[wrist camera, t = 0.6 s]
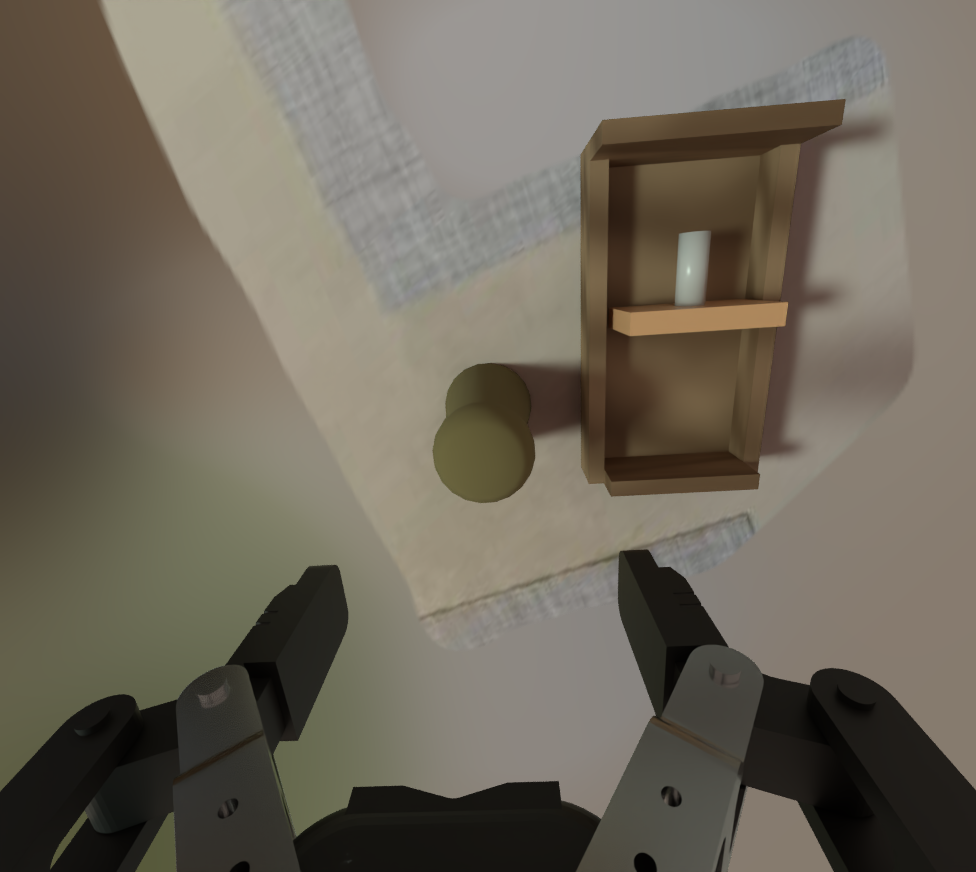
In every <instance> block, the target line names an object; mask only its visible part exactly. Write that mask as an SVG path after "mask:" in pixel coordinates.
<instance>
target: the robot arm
mask: <svg viewBox="0 0 976 872" xmlns="http://www.w3.org/2000/svg"><path fill="white" fill-rule="evenodd" d="M618 604H619V611H620V616H621V620H622V623H623V625H624V628H625V631H626V634H627V637H628V639H629V642H630V645H631V648H632V650H633V653H634V656H635V659H636V661H637V664H638V667H639V670H640V672H641V675H642V678H643V681H644V683H645V686H646V689H647V692H648V694H649V697H650V700H651V703H652V705H653V708H654V711H655V714H656V716H653V717H652V718H651V719H650V721H649V722H648V724H647V727H646V728H645V730H644V733H643V734H642V737H641V739H640V741H639V743H638V745H637V747H636V749H635V751H634V753H633V755H632V757H631V759H630V762H629V763H628V765H627V767H626V770H625V772H624V774H623V776H622V778H621V780H620V782H619V784H618V786H617V789H616V790H615V792H614V794H613V796H612V798H611V800H610V803H609V805H608V807H607V809H606V811H605V813H604V815H603V817H602V819H600V818H599V817H598V816H596V815H594V814H592V813H591V812H589V811H587V810H585V809H584V808H581V807H579V806H577V805H574V804H572V803H568V802H565V801H561V797H560V788H559V782H558V781H549V782H514V783H505V784H502V785H498V786H495V787H492V788H489V789H486V790H482V791H479V792H476V793H473V794H469V795H466V796H463V797H460V798H453V799H452V798H446V797H443V796H439V795H435V794H432V793H428V792H424V791H421V790H417V789H413V788H410V787H406V786H375V787H353V790H352V793H351V797H350V800H349V804H348V807H347V808H344V809H341V810H339V811H336V812H334V813H332V814H330V815H328V816H326V817H324V818H323V819H321V820H319V821H317V822H316V823H314V824H313V825H311V826H310V827H309V828H307V829H306V830H304V831H303V832H302V833H301V834H300V835H299V836H296V833H295V829H294V826H293V822H292V819H291V816H290V812H289V808H288V805H287V801H286V798H285V794H284V790H283V787H282V783H281V779H280V776H279V772H278V769H277V765H276V762H275V759H274V755H273V753H274V751H275V749H276V747H277V745H278V743H279V741H298V739H299V737H300V735H301V732H302V730H303V728H304V726H305V723H306V721H307V719H308V717H309V714H310V712H311V710H312V707H313V705H314V703H315V701H316V698H317V696H318V694H319V692H320V689H321V687H322V685H323V683H324V680H325V678H326V676H327V673H328V671H329V669H330V667H331V664H332V662H333V660H334V658H335V655H336V653H337V651H338V648H339V646H340V644H341V642H342V639H343V637H344V635H345V632H346V629H347V624H348V608H347V603H346V598H345V594H344V589H343V584H342V579H341V575H340V570H339V568H338V566H337V565H322V566H309V567H308V568H307V569H306V571H305V572H304V574H303V575H302V576H301V578H300V580H299V581H298V582H297V584H296V585H289V586H288V587H287V588H285V589H284V590H283V591H282V592H280V593H279V594H278V595H277V596H275V597H274V598H273V600H272V601H271V602H270V604H269V605H268V606H267V608H266V609H265V611H264V614H262V615H261V616H260V618H259V619H258V621H257V622H256V626H253V627H252V629H251V630H250V632H249V633H248V634H247V636H246V637H245V639H244V640H243V641H242V643H241V644H240V646H239V647H238V648H237V650H236V651H235V652H234V654H233V655H232V657H231V658H230V659H229V661H228V663H227V664H226V665H225V666H221V667H217V668H214V669H212V670H210V671H208V672H206V673H204V674H202V675H201V676H199V677H197V678H196V679H195V680H193V681H192V682H191V683H190V684H189V685H188V686H187V687H186V688H185V689H184V690H183V691H182V693H181V694H180V696H179V698H178V699H177V700H174V701H171V702H167V703H164V704H160V705H157V706H154V707H150V708H147V709H143V710H139V708H138V706H137V703H136V701H135V699H134V698H133V697H132V696H129V695H125V694H122V695H114V696H110V697H106V698H104V699H101V700H98V701H96V702H94V703H92V704H90V705H88V706H86V707H85V708H83V709H82V710H80V711H79V712H77V713H76V714H74V715H73V716H72V717H71V718H69V719H68V720H67V721H66V722H65V723H64V724H63V725H62V726H61V727H60V728H59V729H58V730H57V731H56V732H55V733H54V734H53V735H52V736H51V738H50V739H49V740H48V741H47V742H46V743H45V744H44V745H43V746H42V747H41V748H40V749H39V750H38V752H37V753H36V754H35V755H34V756H33V757H32V758H31V759H30V760H29V761H28V762H27V763H26V764H25V766H24V767H23V768H22V769H21V770H20V771H19V772H18V773H17V774H16V775H15V776H14V777H13V779H12V780H11V781H10V782H9V783H8V784H7V785H6V786H5V787H4V788H3V789H2V790H1V792H0V872H135V871H136V869H137V867H138V866H139V864H140V862H141V860H142V859H143V857H144V855H145V854H146V852H147V850H148V848H149V847H150V845H151V843H152V841H153V839H154V838H155V836H156V834H157V833H158V831H159V829H160V827H161V826H162V824H163V822H164V820H165V818H166V817H167V815H168V813H171V812H174V828H175V848H176V869H177V872H728V867H729V863H730V859H731V854H732V850H733V846H734V842H735V837H736V834H737V830H738V825H739V821H740V817H741V813H742V809H743V804H744V800H745V796H746V792H747V788H748V787H752V788H755V789H759V790H762V791H765V792H769V793H772V794H776V795H780V796H782V797H786V798H790V799H793V800H796V801H798V803H799V805H800V807H801V809H802V811H803V813H804V815H805V817H806V818H807V821H808V823H809V824H810V826H811V828H812V830H813V832H814V834H815V836H816V838H817V840H818V842H819V844H820V846H821V848H822V850H823V852H824V853H825V855H826V857H827V859H828V861H829V863H830V865H831V867H832V869H833V871H834V872H976V790H975V789H974V788H973V787H972V785H971V784H970V783H969V782H968V781H967V780H966V779H965V778H964V776H963V775H962V774H961V773H960V772H959V771H958V770H957V768H956V767H955V766H954V765H953V764H952V763H951V761H950V760H949V759H948V758H947V757H946V756H945V755H944V754H943V752H942V751H941V750H940V749H939V748H938V747H937V746H936V744H935V743H934V742H933V741H932V740H931V739H930V738H929V736H928V735H927V734H926V733H925V732H924V731H923V730H922V728H921V727H920V726H919V725H918V724H917V723H916V722H915V721H914V720H913V718H912V717H911V716H910V715H909V714H908V713H907V711H906V710H905V709H904V708H903V707H902V706H901V705H900V703H899V702H898V701H897V700H896V699H895V698H894V697H893V696H892V695H891V694H890V693H889V692H888V691H887V690H886V689H884V688H883V687H882V686H880V685H879V684H877V683H876V682H874V681H872V680H870V679H869V678H866V677H864V676H862V675H860V674H857V673H854V672H851V671H848V670H843V669H836V668H835V669H834V668H828V669H822V670H819V671H817V672H816V673H815V674H814V675H813V676H812V678H811V682H810V685H806V684H801V683H797V682H791V681H787V680H782V679H778V678H774V677H770V676H767V675H765V674H762V673H761V671H760V670H759V668H758V667H757V665H756V664H755V663H754V662H753V661H752V660H750V658H748V657H747V656H745V655H744V654H742V653H740V652H739V651H736V650H734V649H732V648H729V647H728V645H727V644H726V642H725V640H724V639H723V637H722V636H721V634H720V632H719V631H718V629H717V628H716V626H715V625H714V623H713V621H712V620H711V618H710V617H709V615H708V613H707V612H706V610H705V609H704V607H703V606H701V603H700V601H699V599H698V598H697V596H696V595H694V591H693V590H692V588H691V587H690V585H689V583H688V582H687V580H686V579H685V578H684V577H683V576H681V575H680V574H679V573H677V572H676V571H675V570H673V569H672V568H671V567H659V568H658V566H657V564H656V562H655V560H654V559H653V557H652V555H651V553H650V552H649V550H628V551H620V553H619V573H618ZM84 810H85V812H86V814H87V816H88V818H87V819H86V821H85V822H84V824H83V825H82V827H81V828H80V829H79V831H78V832H77V833H76V835H75V836H74V838H73V839H72V840H71V842H70V843H69V844H68V846H67V847H66V849H65V850H64V851H63V853H62V854H61V856H60V857H59V858H58V860H57V861H56V863H55V864H54V865H53V867H52V868H51V870H50V865H51V862H52V859H53V856H54V854H55V852H56V850H57V848H58V846H59V844H60V843H61V841H62V840H63V839H64V837H65V836H66V835H67V833H68V832H69V830H70V829H71V828H72V826H73V825H74V824H75V822H76V821H77V820H78V818H79V817H80V815H81V814H82V813H83V811H84Z"/></svg>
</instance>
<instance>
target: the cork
mask: <svg viewBox="0 0 976 872" xmlns="http://www.w3.org/2000/svg"><path fill="white" fill-rule="evenodd" d="M445 404H446V419H445V420H444V421H443V423H442V425H441V427H440V428H439V430H438V432H437V434H436V436H435V441H434V446H433V457H434V464H435V468H436V471H437V473H438V475H439V477H440V479H441V481H442V482H443V483H444V484H445V485H446V486H447V488H448V489H449V490H450V491H451V492H452V493H454V494H456V495H458V496H460V497H461V498H463V499H465V500H469V501H473V502H478V503H488V502H497V501H499V500H502V499H505V498H507V497H510V496H511V495H512V494H514V493H515V492H516V491H518V490H519V489H520V488H521V487H522V486H523V484H524V483H525V482H526V480H527V479H528V477H529V476H530V474H531V471H532V468H533V464H534V460H535V446H534V439H533V437H532V434H531V432H530V430H529V427H528V425H527V423H528V419H529V415H530V411H531V400H530V394H529V392H528V389H527V387H526V384H525V383H524V382H523V380H522V379H521V378H520V377H519V376H518V375H517V373H515V372H513V371H512V370H510V369H508V368H507V367H505V366H502V365H497V364H493V363H487V364H477V365H475V366H472V367H470V368H468V369H465V370H464V371H463V372H462V373H460V374H459V375H458V376H457V377H456V378H455V379H454V381H453V382H452V384H451V386H450V388H449V389H448V393H447V398H446V403H445Z"/></svg>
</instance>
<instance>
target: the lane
mask: <svg viewBox="0 0 976 872" xmlns="http://www.w3.org/2000/svg"><path fill="white" fill-rule="evenodd" d="M845 100H846V99H840V100H829V101H817V102H806V103H794V104H782V105H771V106H759V107H748V108H736V109H724V110H713V111H701V112H690V113H678V114H668V115H656V116H643V117H632V118H620V119H609V120H602V122H601V123H600V125H599V126H598V128H597V130H596V131H595V133H594V134H593V136H592V137H591V139H590V141H589V142H588V144H587V145H586V147H585V149H584V150H583V152H582V153H581V467H582V469H583V472H584V474H585V476H586V478H587V481H588V483H589V484H597V483H604V484H605V486H606V488H607V490H608V492H609V493H610V495H611V496H630V495H650V494H670V493H690V492H710V491H730V490H750V489H758V486H759V478H760V474H759V473H758V465H759V457H760V450H761V442H762V435H763V427H764V419H765V412H766V404H767V397H768V389H769V381H770V374H771V366H772V359H773V351H774V344H775V336H776V328H777V327H763V328H748V329H732V330H717V331H702V332H686V333H671V334H656V335H640V336H628V335H626V334H623V333H621V332H618V331H616V330H613V329H611V328H608V319H609V308H614V307H629V306H643V305H658V304H673V303H675V289H676V273H677V256H678V240H679V234H681V233H687V232H695V231H711V239H710V252H709V264H708V276H707V288H706V301H717V300H731V299H748V300H763V301H779V302H780V298H781V290H782V283H783V275H784V268H785V260H786V252H787V245H788V237H789V230H790V222H791V215H792V207H793V199H794V192H795V184H796V177H797V169H798V161H799V154H800V146H801V143H803V142H805V141H807V140H810V139H812V138H814V137H816V136H818V135H820V134H822V133H825V132H827V131H829V130H831V129H833V128H835V127H838V126H840V125H842V120H843V113H844V107H845Z"/></svg>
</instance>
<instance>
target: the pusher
mask: <svg viewBox="0 0 976 872" xmlns="http://www.w3.org/2000/svg"><path fill="white" fill-rule="evenodd" d="M710 239H711V231H695V232H687V233H681V234H679V240H678V256H677V273H676V289H675V303H673V304H658V305H643V306H629V307H614V308H609V319H608V328H611V329H613V330H616V331H618V332H621V333H623V334H626V335H628V336H640V335H656V334H671V333H686V332H702V331H717V330H732V329H748V328H763V327H778V326H785V323H786V315H787V308H788V302H779V301H763V300H748V299H731V300H717V301H706V288H707V276H708V264H709V252H710Z"/></svg>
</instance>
